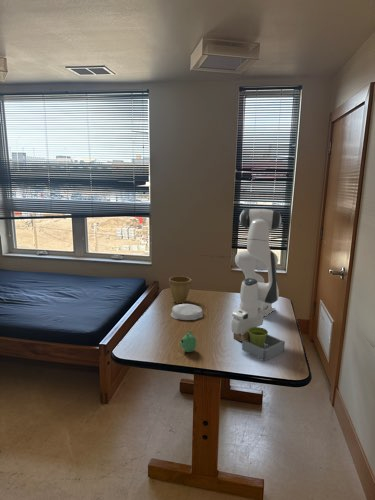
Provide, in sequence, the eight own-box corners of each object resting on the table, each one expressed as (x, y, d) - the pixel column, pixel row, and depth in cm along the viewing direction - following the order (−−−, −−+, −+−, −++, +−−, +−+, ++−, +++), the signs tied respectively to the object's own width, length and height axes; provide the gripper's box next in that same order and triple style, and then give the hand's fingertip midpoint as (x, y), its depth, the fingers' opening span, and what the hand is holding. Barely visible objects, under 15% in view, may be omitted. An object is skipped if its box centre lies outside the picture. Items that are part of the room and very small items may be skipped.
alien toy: (182, 346, 167) (183, 327, 165) (197, 349, 165) (198, 329, 163) (178, 353, 161) (178, 333, 159) (193, 356, 158) (194, 335, 156)
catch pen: (261, 341, 174) (262, 332, 173) (284, 351, 164) (284, 341, 163) (242, 349, 165) (242, 340, 164) (264, 361, 155) (265, 350, 154)
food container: (181, 307, 222) (181, 297, 221) (208, 313, 212) (208, 302, 211) (164, 317, 205) (163, 307, 204) (192, 324, 195) (192, 313, 194)
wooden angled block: (242, 335, 181) (242, 326, 180) (258, 340, 173) (257, 330, 172) (229, 340, 175) (228, 331, 174) (244, 345, 166) (244, 335, 166)
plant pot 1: (182, 307, 221) (183, 283, 218) (164, 302, 229) (164, 279, 226) (195, 300, 233) (195, 278, 230) (177, 296, 241) (177, 275, 238)
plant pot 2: (263, 353, 161) (264, 336, 160) (244, 349, 166) (245, 332, 164) (269, 345, 169) (270, 329, 168) (250, 341, 174) (251, 325, 172)
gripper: (257, 305, 178) (255, 329, 180) (229, 314, 165) (228, 340, 168) (266, 308, 173) (265, 334, 176) (239, 318, 160) (238, 345, 163)
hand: (247, 337), depth 171 cm, fingers closed on wooden angled block, 3 cm apart
